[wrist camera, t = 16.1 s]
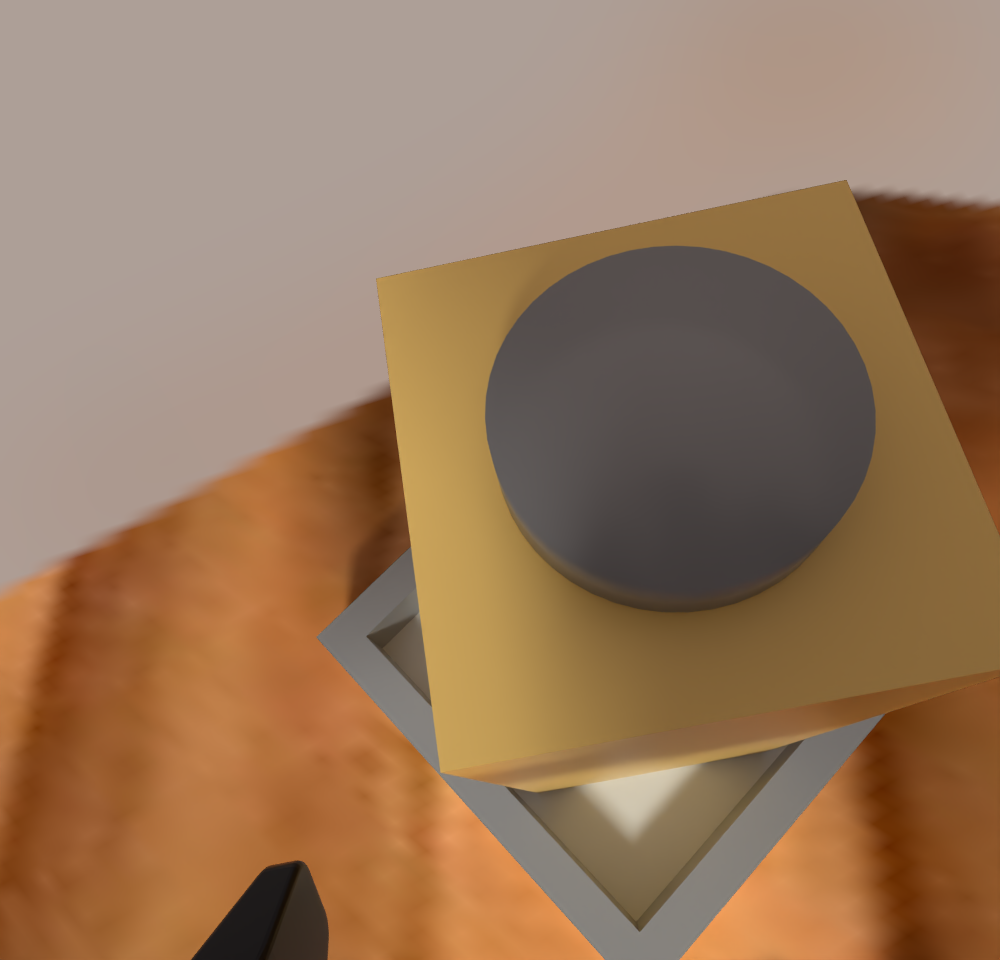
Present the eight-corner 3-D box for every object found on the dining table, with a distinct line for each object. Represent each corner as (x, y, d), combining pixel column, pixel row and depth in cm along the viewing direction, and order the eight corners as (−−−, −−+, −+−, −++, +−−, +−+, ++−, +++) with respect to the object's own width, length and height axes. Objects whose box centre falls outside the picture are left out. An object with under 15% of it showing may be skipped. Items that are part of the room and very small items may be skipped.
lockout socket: (637, 979, 17) (643, 1002, 15) (343, 653, 20) (316, 637, 18) (920, 645, 19) (957, 626, 17) (608, 395, 22) (609, 355, 20)
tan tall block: (765, 751, 18) (1111, 641, 6) (538, 793, 18) (420, 768, 6) (704, 535, 19) (870, 120, 8) (500, 575, 20) (355, 229, 8)
